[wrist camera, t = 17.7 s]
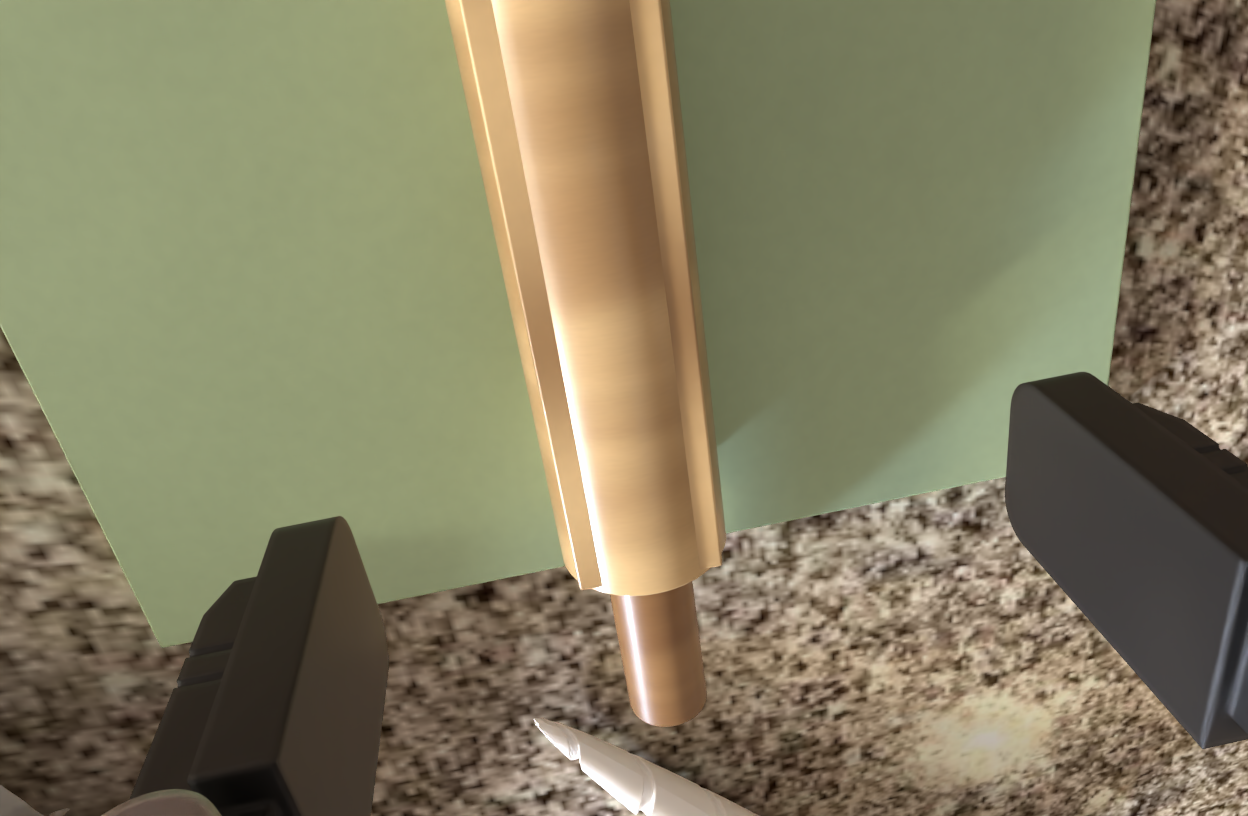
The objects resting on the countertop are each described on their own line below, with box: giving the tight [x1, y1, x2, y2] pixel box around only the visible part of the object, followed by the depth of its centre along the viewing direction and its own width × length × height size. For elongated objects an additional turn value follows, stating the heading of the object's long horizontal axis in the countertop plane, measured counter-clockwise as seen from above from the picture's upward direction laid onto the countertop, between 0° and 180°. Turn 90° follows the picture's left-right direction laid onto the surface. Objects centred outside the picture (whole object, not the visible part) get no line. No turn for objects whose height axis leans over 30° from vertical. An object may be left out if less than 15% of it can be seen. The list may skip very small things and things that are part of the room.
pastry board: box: [0, 0, 1156, 648], centre depth 25 cm, size 30×20×1 cm, turn 98°
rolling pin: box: [445, 0, 726, 727], centre depth 22 cm, size 28×5×5 cm, turn 8°
